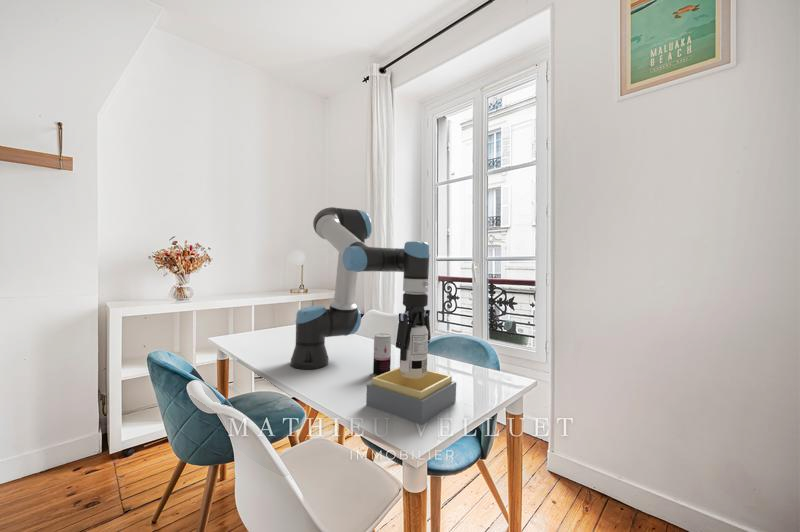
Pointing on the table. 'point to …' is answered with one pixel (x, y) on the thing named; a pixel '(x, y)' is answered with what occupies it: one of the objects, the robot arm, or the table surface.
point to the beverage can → (382, 353)
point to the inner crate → (412, 383)
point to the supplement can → (417, 353)
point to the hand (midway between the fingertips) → (413, 367)
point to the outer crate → (411, 402)
